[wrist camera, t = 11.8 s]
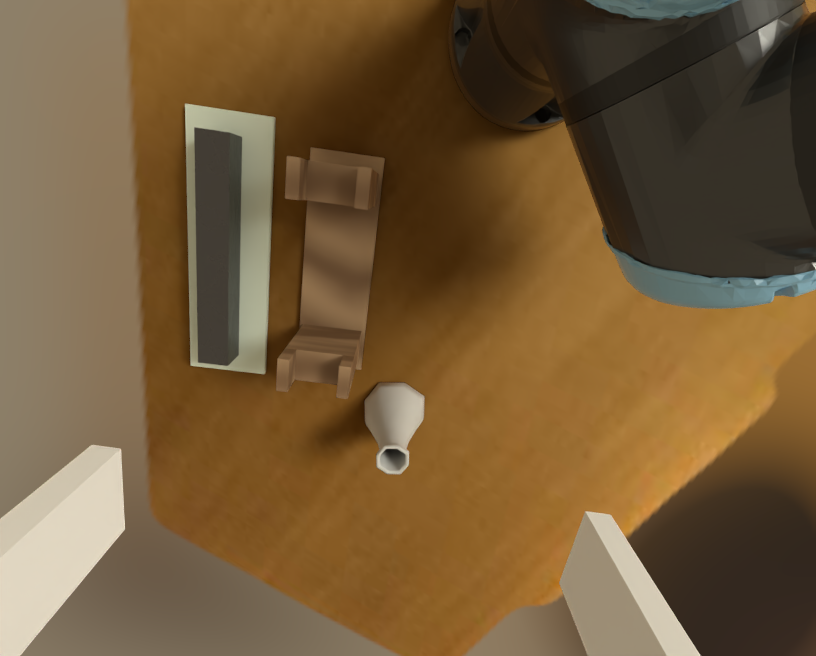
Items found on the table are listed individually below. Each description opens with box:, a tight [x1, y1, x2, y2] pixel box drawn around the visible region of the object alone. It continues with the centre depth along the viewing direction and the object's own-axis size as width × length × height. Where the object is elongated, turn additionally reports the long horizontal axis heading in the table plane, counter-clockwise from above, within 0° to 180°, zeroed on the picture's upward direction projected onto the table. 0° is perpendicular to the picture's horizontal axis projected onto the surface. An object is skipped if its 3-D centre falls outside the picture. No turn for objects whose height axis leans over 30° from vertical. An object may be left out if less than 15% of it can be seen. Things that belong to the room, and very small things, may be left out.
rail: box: [194, 127, 242, 366], centre depth 41 cm, size 22×3×3 cm, turn 172°
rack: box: [276, 147, 385, 399], centre depth 39 cm, size 22×7×10 cm, turn 172°
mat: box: [185, 104, 276, 374], centre depth 43 cm, size 26×8×1 cm, turn 172°
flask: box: [364, 382, 425, 474], centre depth 44 cm, size 7×7×10 cm
